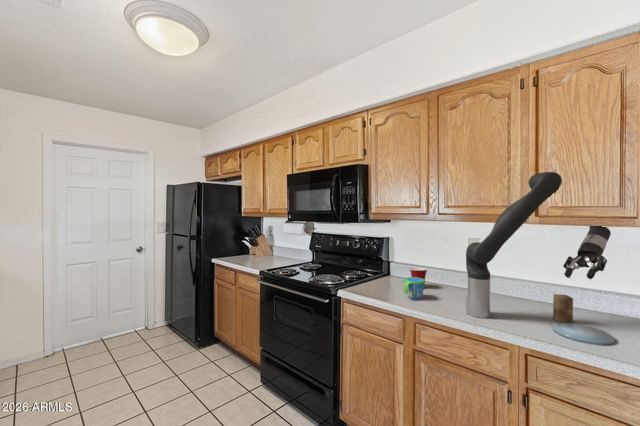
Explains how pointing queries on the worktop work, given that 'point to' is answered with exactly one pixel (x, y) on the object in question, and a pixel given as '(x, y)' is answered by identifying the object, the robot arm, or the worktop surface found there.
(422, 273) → the plastic cup
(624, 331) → the worktop surface
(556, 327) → the slate plate
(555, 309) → the walnut block
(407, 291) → the snack cup
